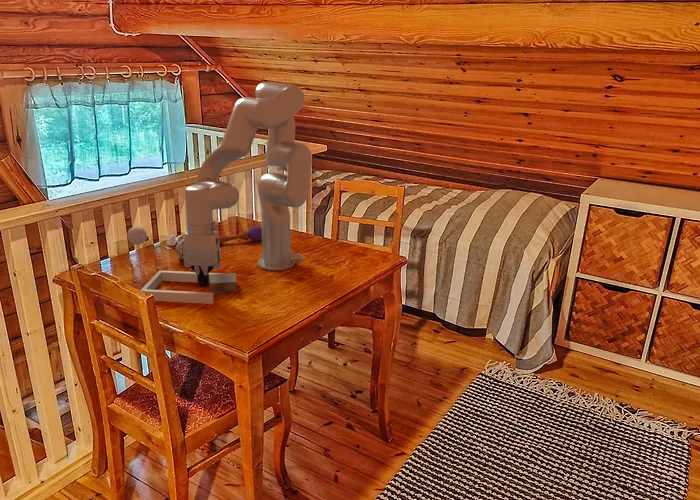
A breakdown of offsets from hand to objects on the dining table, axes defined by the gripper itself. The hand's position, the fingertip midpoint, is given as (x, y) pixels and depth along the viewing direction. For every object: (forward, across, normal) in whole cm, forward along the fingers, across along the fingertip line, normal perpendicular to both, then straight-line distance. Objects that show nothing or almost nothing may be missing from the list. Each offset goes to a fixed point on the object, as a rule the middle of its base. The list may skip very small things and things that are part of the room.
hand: (203, 285), depth 171 cm
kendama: (+3, +1, -44) cm, 45 cm away
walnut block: (+3, -5, -3) cm, 7 cm away
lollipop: (+2, +25, -14) cm, 29 cm away
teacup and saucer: (+3, +21, -40) cm, 46 cm away
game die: (+2, +14, -25) cm, 29 cm away
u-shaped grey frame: (+2, +6, 0) cm, 6 cm away
